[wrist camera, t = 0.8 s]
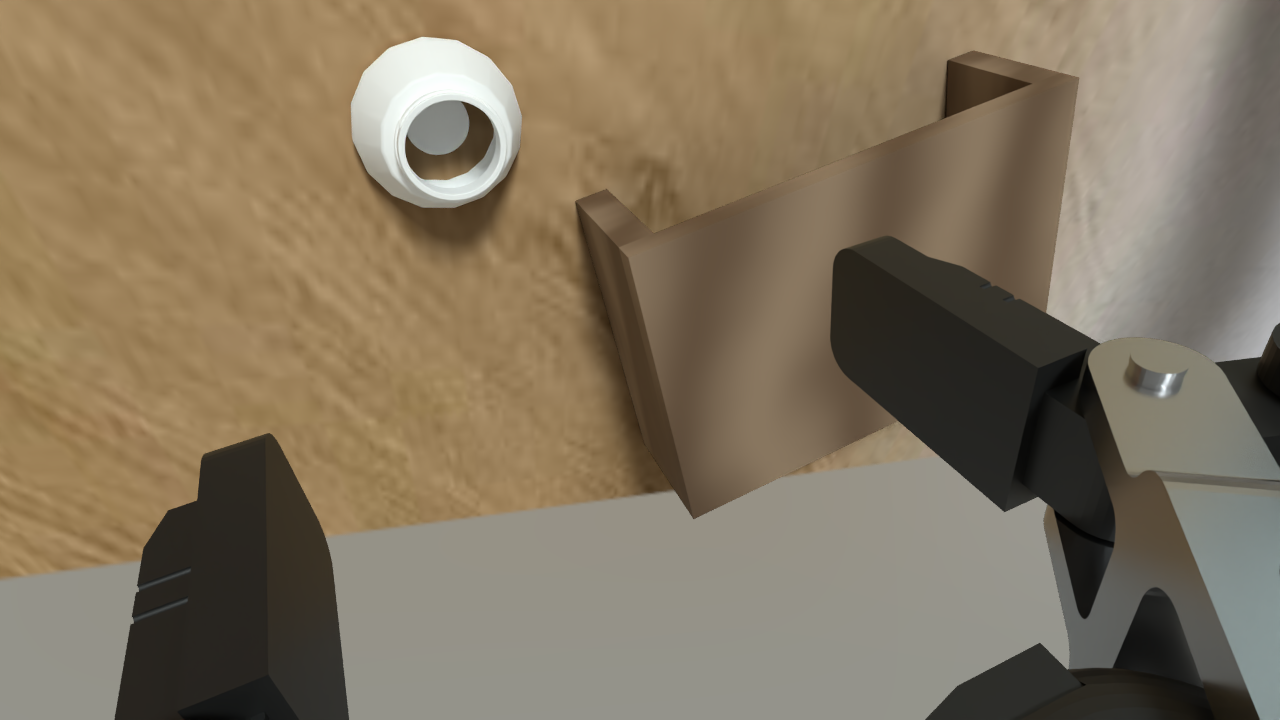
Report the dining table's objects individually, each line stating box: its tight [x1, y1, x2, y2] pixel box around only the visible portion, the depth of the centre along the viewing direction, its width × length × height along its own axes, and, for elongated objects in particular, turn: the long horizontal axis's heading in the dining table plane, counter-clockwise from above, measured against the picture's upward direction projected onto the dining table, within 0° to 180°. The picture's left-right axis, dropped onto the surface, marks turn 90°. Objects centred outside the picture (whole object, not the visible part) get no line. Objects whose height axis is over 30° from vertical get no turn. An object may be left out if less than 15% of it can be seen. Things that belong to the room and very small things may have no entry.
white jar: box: [351, 37, 522, 208], centre depth 23 cm, size 5×3×5 cm
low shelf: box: [576, 51, 1079, 519], centre depth 30 cm, size 17×12×5 cm
